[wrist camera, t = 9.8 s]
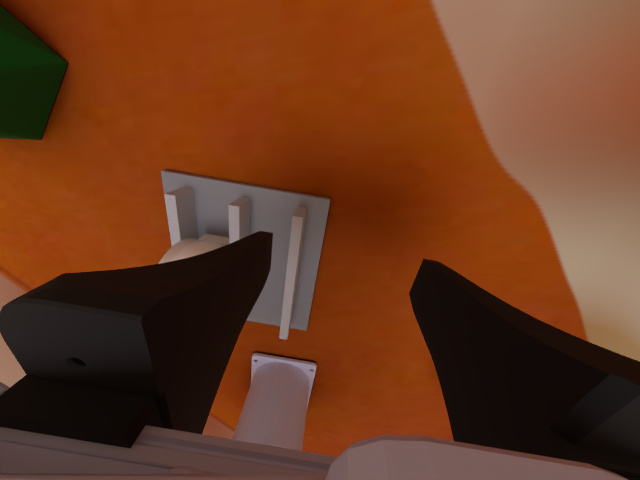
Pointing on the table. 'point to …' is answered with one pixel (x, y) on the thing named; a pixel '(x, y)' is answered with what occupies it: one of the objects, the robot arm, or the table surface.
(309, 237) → the dish rack
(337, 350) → the table surface
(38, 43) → the milk carton
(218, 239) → the cream round puck
